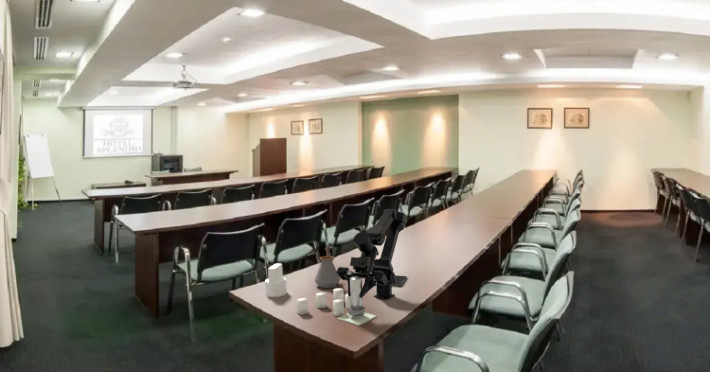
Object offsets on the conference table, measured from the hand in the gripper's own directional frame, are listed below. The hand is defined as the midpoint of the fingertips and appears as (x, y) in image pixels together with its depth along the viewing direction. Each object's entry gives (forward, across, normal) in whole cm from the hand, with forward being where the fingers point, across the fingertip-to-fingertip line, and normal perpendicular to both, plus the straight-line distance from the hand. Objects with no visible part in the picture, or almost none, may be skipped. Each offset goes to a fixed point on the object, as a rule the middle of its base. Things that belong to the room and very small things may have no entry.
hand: (354, 296), depth 164 cm
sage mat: (+5, 0, +7) cm, 8 cm away
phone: (-28, -4, +41) cm, 49 cm away
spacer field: (+2, -13, +10) cm, 17 cm away
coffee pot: (-19, -32, +31) cm, 49 cm away
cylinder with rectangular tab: (-3, -45, +15) cm, 47 cm away
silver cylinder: (+4, 0, +6) cm, 7 cm away
